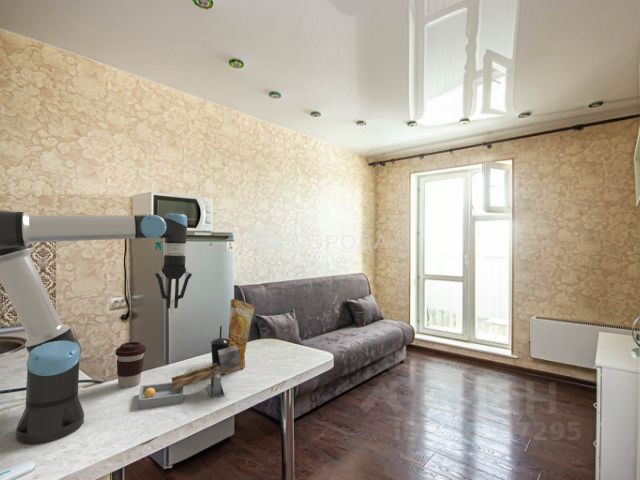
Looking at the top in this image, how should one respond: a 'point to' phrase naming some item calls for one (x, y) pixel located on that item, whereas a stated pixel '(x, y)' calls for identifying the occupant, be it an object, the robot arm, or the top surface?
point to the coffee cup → (130, 363)
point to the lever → (210, 368)
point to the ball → (149, 393)
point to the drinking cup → (218, 347)
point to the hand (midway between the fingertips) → (171, 316)
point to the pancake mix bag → (240, 326)
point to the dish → (160, 395)
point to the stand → (215, 384)
